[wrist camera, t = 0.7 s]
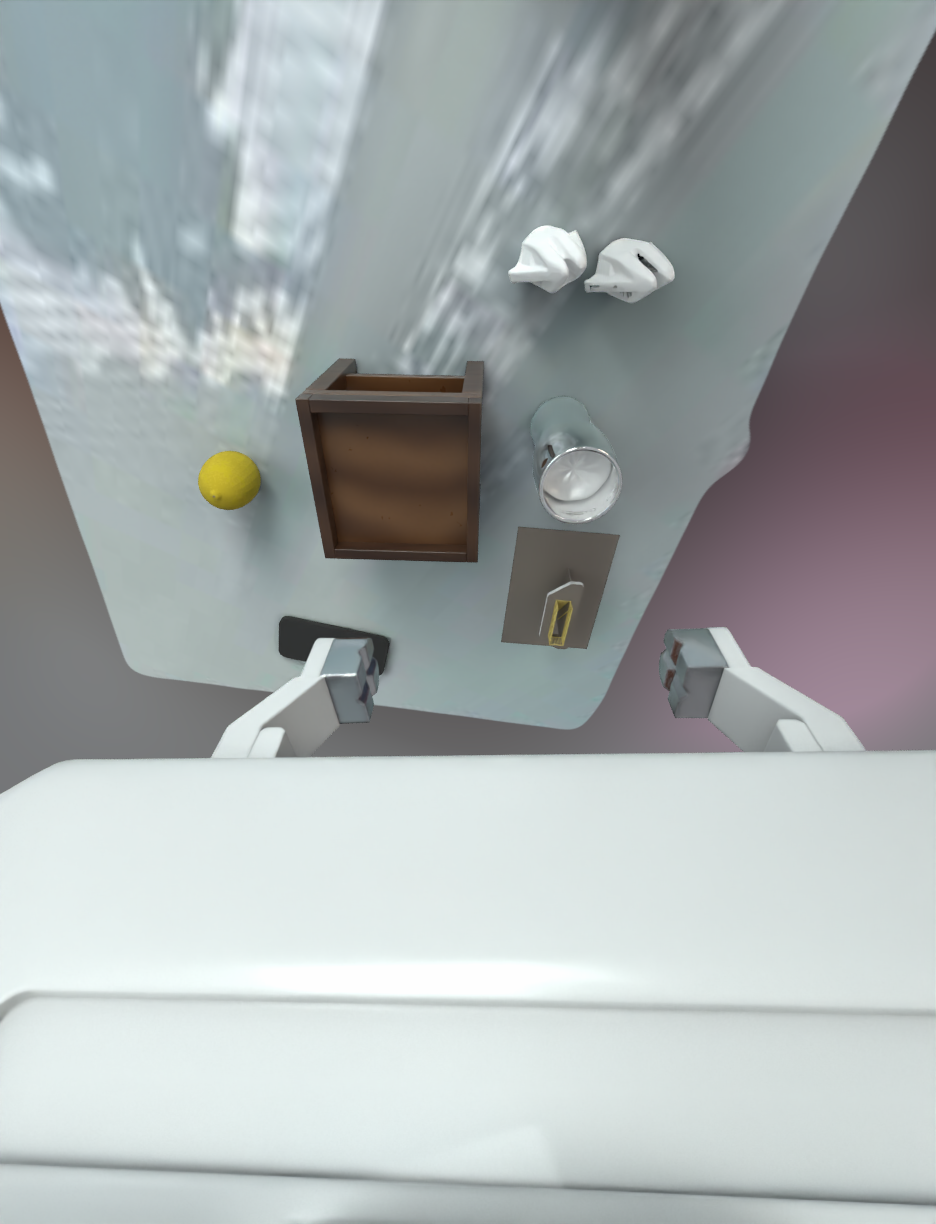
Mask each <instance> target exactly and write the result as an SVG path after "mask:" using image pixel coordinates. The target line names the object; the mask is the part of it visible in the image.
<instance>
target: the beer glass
mask: <svg viewBox="0 0 936 1224" xmlns="http://www.w3.org/2000/svg"><path fill="white" fill-rule="evenodd" d="M530 432H531V437H532V440H533V442H534V444H535V448H534V453H533V460H532V468H533V477H534V481H535V485H536V488H537V491H538V494H539V497H540V501H541V503H542V505H543V507H544V509H545V510H546V511H547V512H548V513H549V514H550V515H551V516H552V517H553V518H555V519H557V520H559V521H561V522H564V523H569V524H583V523H587V522H591V521H593V520H596V519H598V518H599V517H601V516H603V515H604V514H605V513H607V512H608V511H609V510H610V509H611V508H612V506H613V505H614V504H615V502H616V501H617V499H618V497H619V495H620V492H621V488H622V474H621V470H620V467H619V465H618V462H617V458H616V455H615V453H614V450H613V448H612V446H611V444H610V442H609V441H608V439H607V438H606V436H605V435H604V434H603V433H602V432H601V431H600V430H599V429H598V428H597V427H596V426H595V425H593V424H592V423H590V417H589V413H588V411H587V409H586V408H585V406H584V405H583V404H582V403H581V402H580V401H578V400H576V399H574V398H572V397H568V396H558V397H554V398H551V399H549V400H547V401H545V402H544V403H543V404H542V405H541V406H540V407H539V408H538V409H537V410H536V412H535V413H534V415H533V418H532V421H531V426H530Z"/></svg>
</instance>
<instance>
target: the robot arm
mask: <svg viewBox="0 0 936 1224" xmlns="http://www.w3.org/2000/svg"><path fill="white" fill-rule="evenodd" d="M664 643H665V646H666V649H665V650H664V651H663V652H662V653H661V655H660V661H659V673H660V679H661V682H662V685H663V687H664V688H666V689H667V690H668V691H670V692H669V697H668V701H669V703H670V706H671V708H672V711H673V714H674V716H675V718H708V720H709V721H710V722H711V723H712V724H714V726H716V727H717V728H718V729H719V730H720V731H721V732H722V733H723V734H724V735H726V736H727V737H728V738H729V739H730V740H731V741H732V742H733V743H735V744H736V745H737V746H738V747H739V748H740V749H741V750H742V751H744V752H721V753H644V754H551V755H550V754H548V755H547V754H544V755H466V756H465V755H464V756H375V757H311V756H312V755H313V753H314V752H315V751H316V750H317V749H318V748H319V747H320V746H321V745H322V744H323V743H324V742H325V741H326V739H327V738H328V737H329V736H330V735H331V734H332V733H333V732H334V731H335V730H336V729H337V728H338V727H339V725H340V724H343V723H367V722H370V718H371V714H372V710H373V706H374V702H373V698H372V696H373V695H375V694H376V693H377V690H378V685H379V667H378V662H377V660H376V659H375V658H374V657H373V656H372V655H373V651H374V646H373V642H372V639H371V638H318V639H317V640H316V641H315V643H314V645H313V647H312V650H311V652H310V654H309V657H308V659H307V661H306V664H305V666H304V668H303V671H302V673H301V675H300V677H295V678H293V679H292V680H290V681H289V682H288V683H286V684H285V685H284V686H282V687H281V688H280V689H278V690H277V691H275V692H274V693H273V694H271V695H270V696H269V697H267V698H266V699H264V700H263V701H262V702H260V703H259V704H258V705H256V706H255V707H254V708H252V709H251V710H250V711H248V712H247V713H245V714H244V715H243V716H241V717H240V718H239V719H237V720H236V721H234V722H233V723H232V724H230V725H229V726H228V727H227V728H226V730H225V732H224V734H223V736H222V738H221V740H220V742H219V744H218V745H217V747H216V749H215V751H214V753H213V755H212V757H211V758H189V759H75V760H67V761H62V762H59V763H56V764H54V765H52V766H50V767H48V768H46V769H44V770H42V771H40V772H39V773H37V774H35V775H33V776H31V777H29V778H28V779H26V780H24V781H22V782H21V783H19V784H18V785H16V786H14V787H12V788H10V789H9V790H7V791H5V792H4V793H2V794H0V1224H936V750H908V751H907V750H906V751H905V750H903V751H902V750H900V751H899V750H897V751H866V750H865V748H864V747H863V745H862V744H861V742H860V741H859V740H858V738H857V737H856V736H855V734H854V733H853V731H852V730H851V729H850V727H849V726H848V724H847V723H846V722H845V720H844V719H843V718H842V717H841V716H839V715H837V714H836V713H834V712H832V711H831V710H829V709H827V708H826V707H824V706H822V705H820V704H819V703H817V702H815V701H814V700H812V699H810V698H809V697H807V696H805V695H804V694H802V693H800V692H798V691H797V690H795V689H793V688H792V687H790V686H788V685H786V684H785V683H783V682H781V681H780V680H778V679H776V678H775V677H773V676H771V675H770V674H768V673H766V672H764V671H763V670H761V669H759V668H758V667H751V666H750V664H749V662H748V661H747V659H746V657H745V656H744V654H743V652H742V651H741V649H740V647H739V646H738V644H737V643H736V641H735V639H734V638H733V636H732V634H731V633H730V631H729V630H728V629H727V628H726V627H713V628H700V629H669V630H667V632H666V633H665V637H664Z"/></svg>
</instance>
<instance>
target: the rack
mask: <svg viewBox="0 0 936 1224" xmlns="http://www.w3.org/2000/svg"><path fill="white" fill-rule="evenodd" d="M483 373H484V362H483V361H467V366H466V372H465V376H444V375H395V374H357V371H356V362H355V359H338V360H337V361H336V362H335V363H334V364H333V365H332V366H331V367H330V368H328V369H327V370H326V371H325V372H324V373H323V374H322V375H321V376H320V377H319V378H318V379H317V380H315V381H314V382H313V383H312V384H311V385H310V386H309V387H308V388H307V389H306V390H305V391H304V392H303V393H302V394H300V395H299V396H298V397H297V398H296V399H295V400H296V405H297V411H298V416H299V421H300V427H301V432H302V437H303V442H304V448H305V453H306V458H307V464H308V469H309V474H310V480H311V485H312V490H313V495H314V501H315V506H316V511H317V517H318V522H319V527H320V532H321V538H322V543H323V548H324V554H325V558H338V559H373V560H408V561H443V562H466V561H467V562H478V537H479V512H480V457H481V419H482V396H483Z"/></svg>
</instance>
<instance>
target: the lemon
mask: <svg viewBox="0 0 936 1224" xmlns="http://www.w3.org/2000/svg"><path fill="white" fill-rule="evenodd" d="M260 484H261V477H260V473H259V470H258V468H257V466H256V464H255V463H254V462H253V461H252V460H251V459H250V458H249V457H247V456H246V455H244V454H242V453H239V452H235V451H225V452H220V453H218V454H216V455H214V456H212V457H210V458H209V459H208V460H207V461H206V462H205V464H204V465H203V467H202V469H201V471H200V473H199V479H198V485H199V489H200V492H201V494H202V496H203V497H204V498H205V499H206V500H207V501H208V502H209V503H210V504H211V505H213V506H215V507H217V508H220V509H224V510H234V509H237V508H241V507H243V506H245V505H246V504H248V503H249V502H251V501H252V500H253V498H254V497H255V496H256V495H257V493H258V491H259V488H260Z"/></svg>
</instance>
